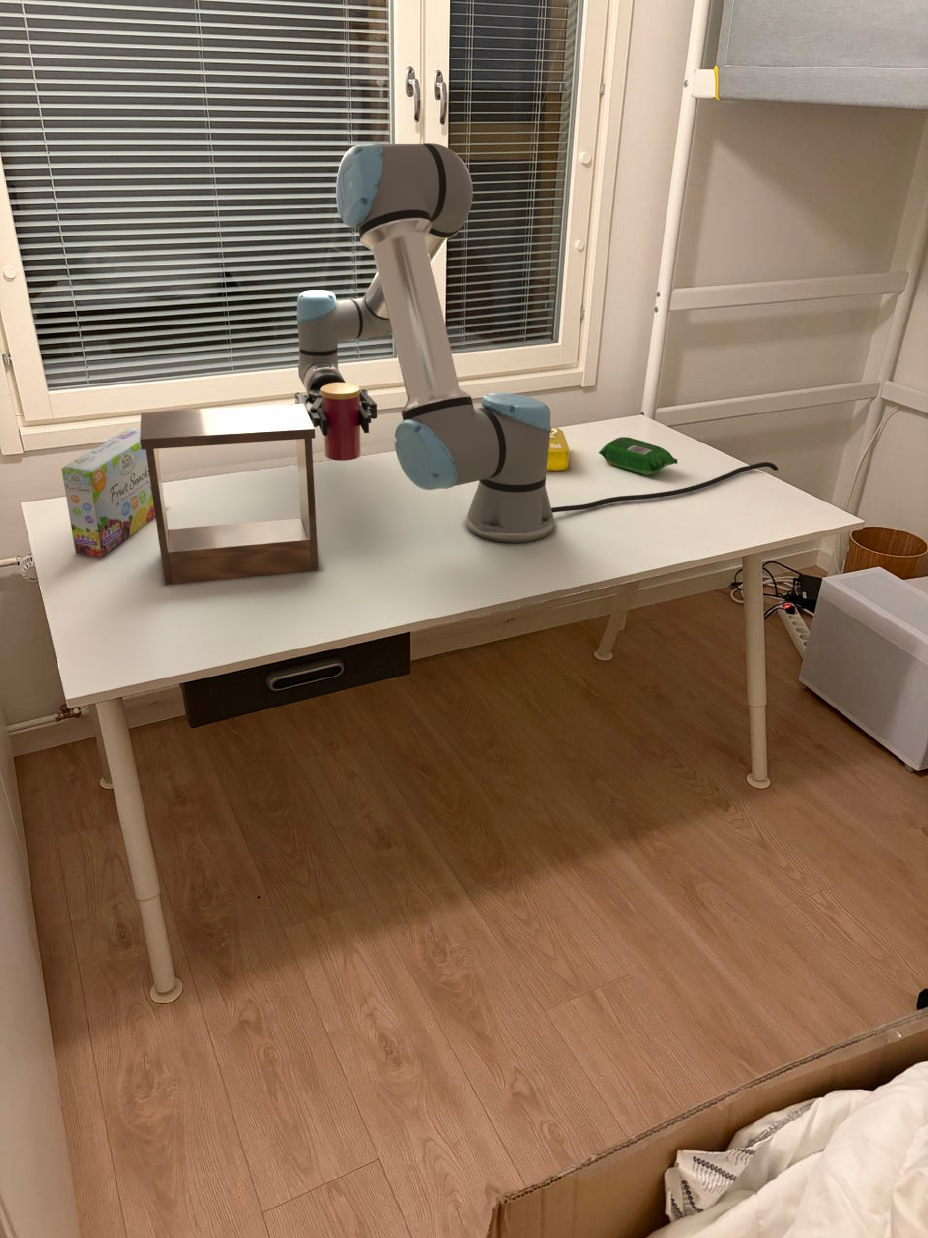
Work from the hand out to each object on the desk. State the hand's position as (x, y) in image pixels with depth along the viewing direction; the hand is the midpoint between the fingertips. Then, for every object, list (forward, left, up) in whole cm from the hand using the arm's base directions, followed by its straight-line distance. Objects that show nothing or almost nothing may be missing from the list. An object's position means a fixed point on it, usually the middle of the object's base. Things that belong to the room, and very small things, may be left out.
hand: (346, 426), depth 160 cm
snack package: (-62, -13, -17) cm, 66 cm away
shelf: (+20, +13, -17) cm, 29 cm away
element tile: (-42, -23, -17) cm, 51 cm away
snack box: (+39, -3, -17) cm, 42 cm away
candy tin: (0, -5, -7) cm, 8 cm away
